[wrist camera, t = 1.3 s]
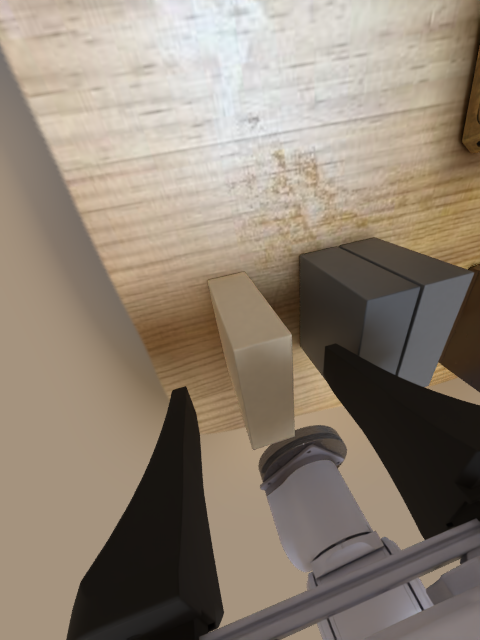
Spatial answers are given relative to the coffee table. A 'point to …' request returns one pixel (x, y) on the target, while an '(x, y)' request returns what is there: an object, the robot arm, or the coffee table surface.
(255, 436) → the cream book
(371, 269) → the grey books
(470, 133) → the decorative box
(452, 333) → the book rack
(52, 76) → the coffee table surface
